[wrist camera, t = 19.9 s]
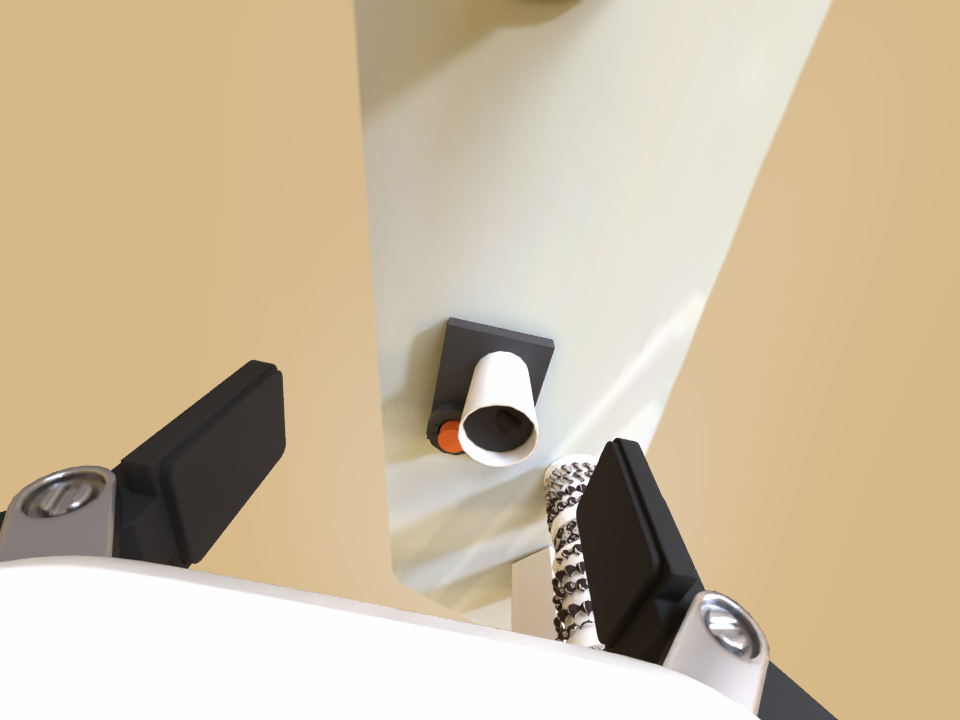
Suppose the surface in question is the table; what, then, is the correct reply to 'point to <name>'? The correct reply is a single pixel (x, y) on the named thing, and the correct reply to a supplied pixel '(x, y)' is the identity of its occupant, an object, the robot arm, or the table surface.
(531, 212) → the table surface
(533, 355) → the scale
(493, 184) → the table surface
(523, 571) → the milk carton
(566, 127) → the table surface
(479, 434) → the white cup
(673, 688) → the robot arm
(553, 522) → the decorative candle
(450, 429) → the tare button
